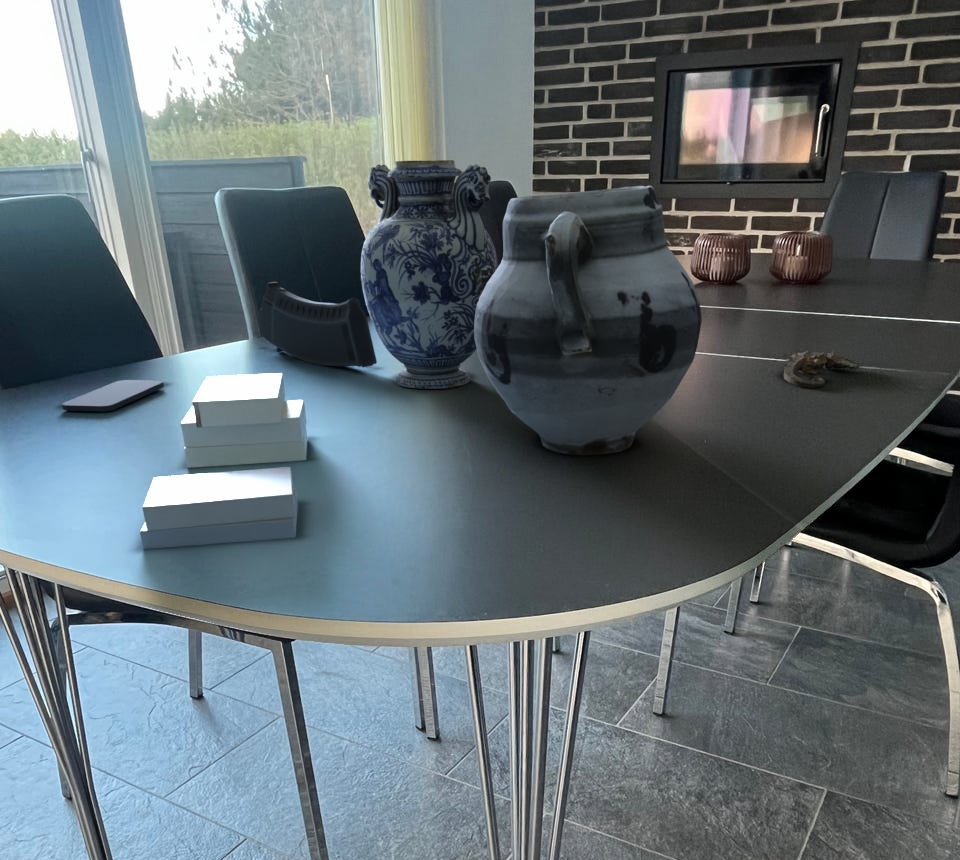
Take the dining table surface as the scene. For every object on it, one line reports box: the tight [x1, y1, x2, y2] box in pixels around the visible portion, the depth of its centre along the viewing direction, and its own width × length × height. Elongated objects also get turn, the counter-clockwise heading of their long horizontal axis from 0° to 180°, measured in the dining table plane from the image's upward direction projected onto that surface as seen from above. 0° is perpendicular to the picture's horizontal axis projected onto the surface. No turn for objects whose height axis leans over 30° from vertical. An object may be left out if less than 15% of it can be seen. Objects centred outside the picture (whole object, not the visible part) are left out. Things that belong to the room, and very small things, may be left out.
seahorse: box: [782, 348, 860, 389], centre depth 122 cm, size 9×16×3 cm, turn 132°
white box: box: [139, 466, 299, 550], centre depth 73 cm, size 12×8×4 cm
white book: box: [191, 372, 286, 427], centre depth 90 cm, size 8×12×2 cm
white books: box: [180, 399, 308, 469], centre depth 92 cm, size 12×8×5 cm
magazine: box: [259, 281, 378, 368], centre depth 138 cm, size 17×3×30 cm
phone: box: [61, 379, 165, 412], centre depth 119 cm, size 7×1×15 cm
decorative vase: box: [360, 159, 499, 390], centre depth 118 cm, size 21×19×28 cm
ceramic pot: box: [474, 185, 703, 456], centre depth 88 cm, size 29×23×25 cm
